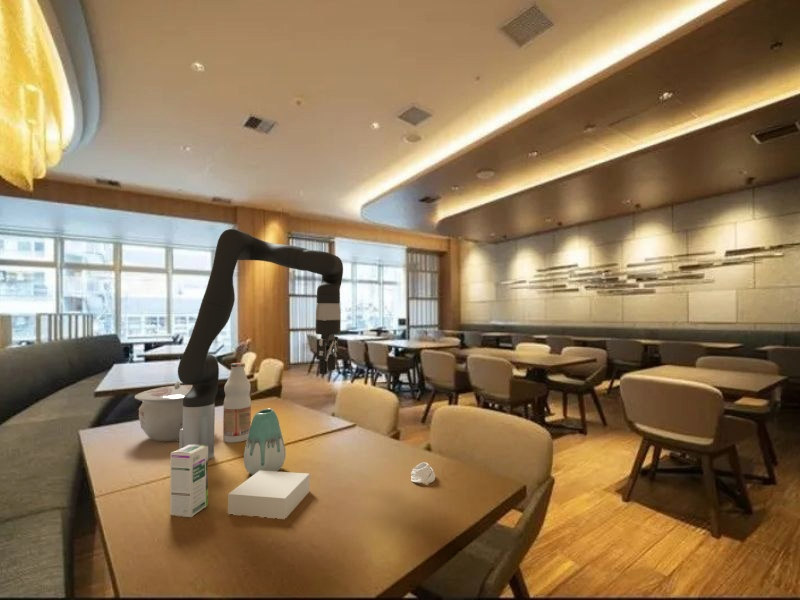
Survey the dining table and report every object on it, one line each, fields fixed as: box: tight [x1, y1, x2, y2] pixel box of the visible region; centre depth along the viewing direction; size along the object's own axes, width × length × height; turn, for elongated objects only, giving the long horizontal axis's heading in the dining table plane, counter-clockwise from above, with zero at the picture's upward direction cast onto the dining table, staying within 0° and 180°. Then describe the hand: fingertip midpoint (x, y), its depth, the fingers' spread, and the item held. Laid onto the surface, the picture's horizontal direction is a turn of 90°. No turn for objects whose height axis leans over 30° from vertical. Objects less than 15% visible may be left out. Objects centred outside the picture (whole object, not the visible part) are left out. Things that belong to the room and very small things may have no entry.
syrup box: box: [169, 445, 209, 518], centre depth 92 cm, size 6×6×14 cm
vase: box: [243, 408, 286, 476], centre depth 115 cm, size 12×12×18 cm
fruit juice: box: [222, 362, 252, 444], centre depth 146 cm, size 9×9×28 cm
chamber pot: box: [134, 381, 192, 442], centre depth 150 cm, size 28×28×21 cm
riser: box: [227, 470, 311, 520], centre depth 96 cm, size 14×14×5 cm
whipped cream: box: [410, 461, 436, 484], centre depth 109 cm, size 8×7×5 cm
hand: (327, 371), depth 119 cm, fingers open, 8 cm apart
